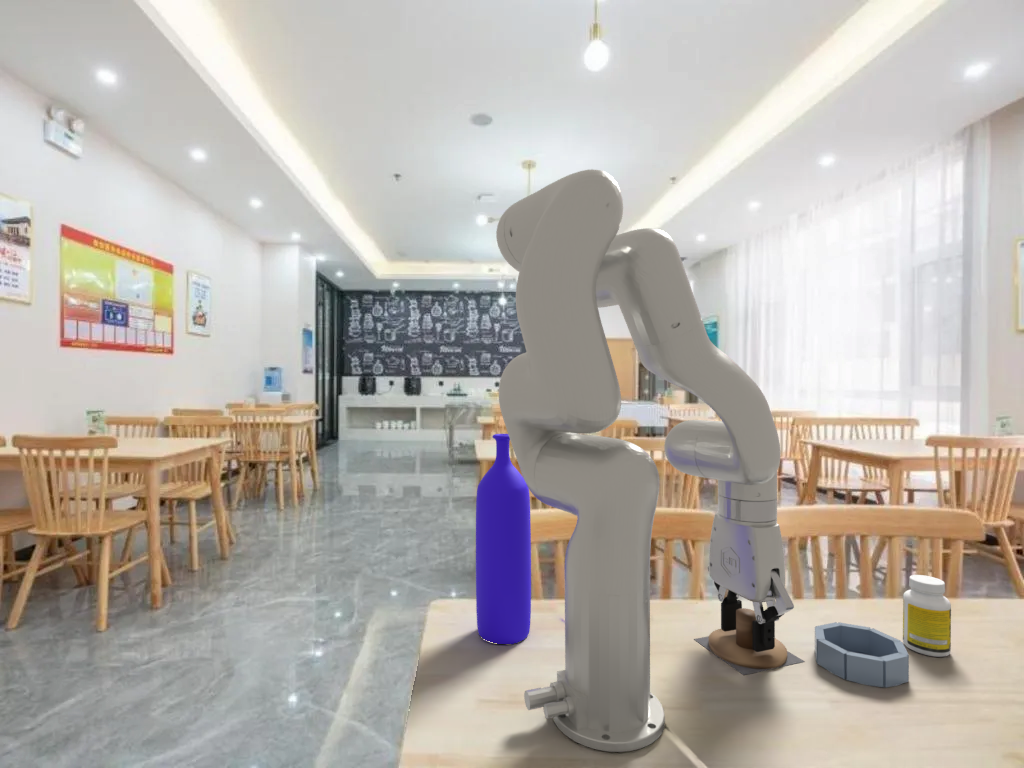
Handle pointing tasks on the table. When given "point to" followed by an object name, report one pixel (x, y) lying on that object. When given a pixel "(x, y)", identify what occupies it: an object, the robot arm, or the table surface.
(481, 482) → the bottle
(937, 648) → the supplement bottle
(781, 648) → the lid
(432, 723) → the table surface
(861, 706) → the table surface
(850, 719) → the table surface
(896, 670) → the bowl
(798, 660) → the mat
